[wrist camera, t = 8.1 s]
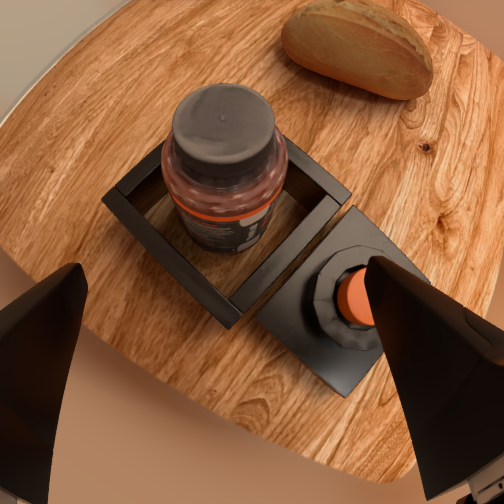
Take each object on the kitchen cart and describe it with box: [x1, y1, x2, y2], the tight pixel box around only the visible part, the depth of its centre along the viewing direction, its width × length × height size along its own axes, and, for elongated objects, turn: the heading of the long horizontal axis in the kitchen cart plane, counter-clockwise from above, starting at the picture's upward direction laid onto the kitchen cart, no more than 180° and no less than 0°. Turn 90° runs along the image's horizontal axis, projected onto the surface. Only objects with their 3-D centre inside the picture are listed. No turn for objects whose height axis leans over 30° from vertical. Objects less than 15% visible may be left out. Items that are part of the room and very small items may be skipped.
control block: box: [251, 205, 431, 398], centre depth 20 cm, size 10×8×4 cm
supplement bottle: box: [161, 83, 289, 255], centre depth 17 cm, size 6×6×11 cm
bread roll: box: [281, 0, 433, 100], centre depth 22 cm, size 10×15×8 cm, turn 75°
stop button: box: [337, 267, 375, 325], centre depth 17 cm, size 3×3×2 cm
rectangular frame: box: [101, 134, 352, 330], centre depth 20 cm, size 11×11×4 cm
